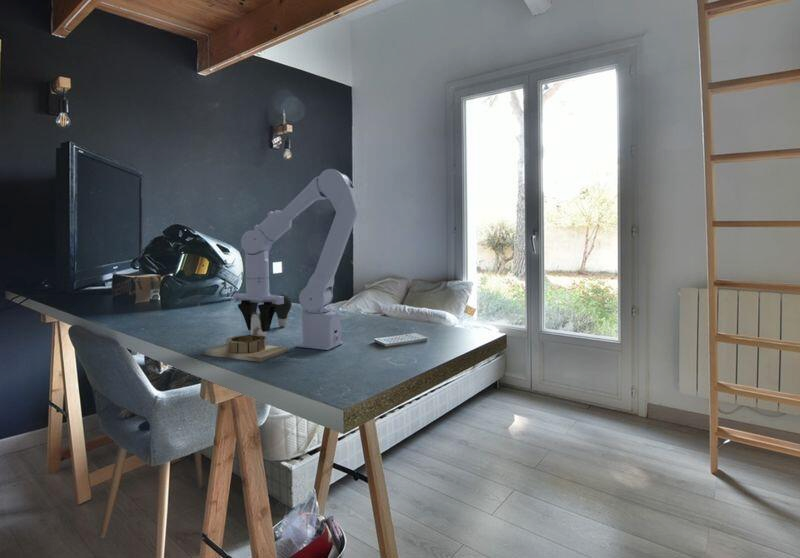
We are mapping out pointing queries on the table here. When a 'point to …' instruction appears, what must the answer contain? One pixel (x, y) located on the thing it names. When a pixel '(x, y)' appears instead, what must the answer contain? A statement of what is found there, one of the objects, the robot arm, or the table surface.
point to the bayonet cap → (256, 324)
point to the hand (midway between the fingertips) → (258, 330)
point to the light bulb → (283, 311)
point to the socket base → (247, 356)
